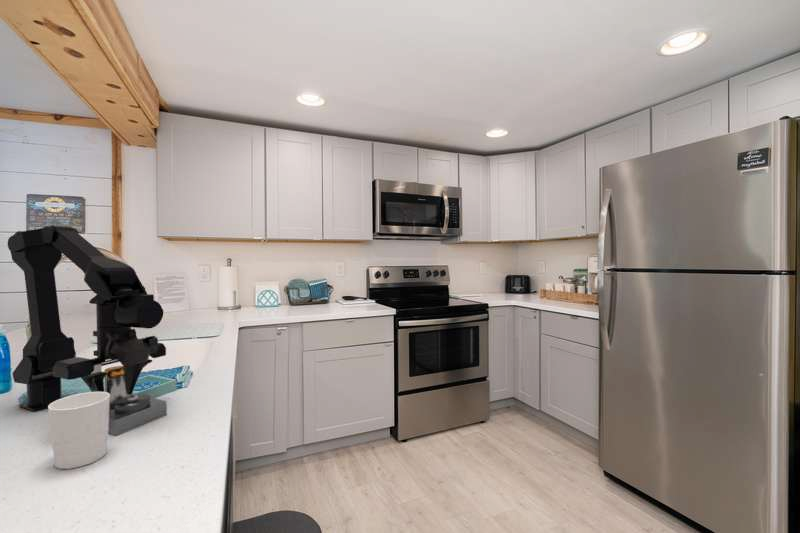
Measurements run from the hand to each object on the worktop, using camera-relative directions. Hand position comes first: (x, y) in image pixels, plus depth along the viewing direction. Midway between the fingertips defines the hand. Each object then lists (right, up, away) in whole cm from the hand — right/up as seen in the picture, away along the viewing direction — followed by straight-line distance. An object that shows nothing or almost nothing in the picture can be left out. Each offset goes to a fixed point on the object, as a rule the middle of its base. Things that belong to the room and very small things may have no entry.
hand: (115, 398), depth 78 cm
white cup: (+6, -5, -15) cm, 17 cm away
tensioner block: (+2, -4, -1) cm, 5 cm away
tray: (-4, -4, +14) cm, 14 cm away
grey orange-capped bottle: (0, -4, 0) cm, 4 cm away
